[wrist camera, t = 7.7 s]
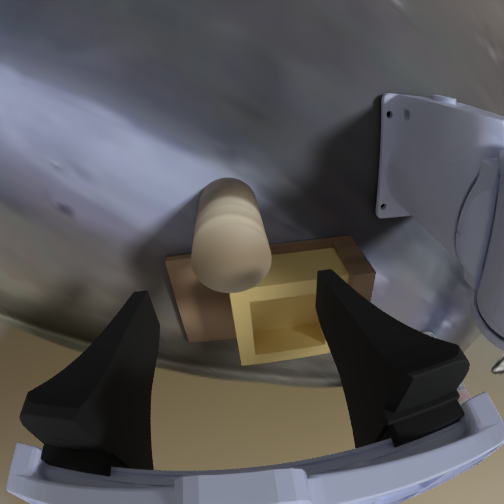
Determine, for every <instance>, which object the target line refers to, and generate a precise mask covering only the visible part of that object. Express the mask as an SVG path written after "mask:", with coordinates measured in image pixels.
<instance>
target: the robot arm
mask: <svg viewBox="0 0 504 504" xmlns="http://www.w3.org/2000/svg"><path fill="white" fill-rule="evenodd" d="M388 111H390V116H389V117H387V112H388ZM382 204H384V206H383V207H382V208H381V205H382ZM375 212H376V215H377V216H378V217H379V218H392V217H403V216H413V217H414V218H415V219H416V220H417V221H418V222H419V223H420V224H421V225H422V226H424V227H425V228H426V229H427V230H428V231H429V232H430V233H431V234H432V235H433V236H434V237H435V238H436V239H437V240H438V241H439V242H440V243H441V244H442V245H443V246H444V247H445V248H446V249H447V250H448V251H449V252H450V253H451V254H452V255H453V256H454V257H455V258H456V259H457V260H458V261H459V262H460V263H461V264H462V265H463V267H464V270H465V275H464V279H465V280H466V281H467V283H468V284H469V285H470V286H471V287H472V288H473V289H474V295H473V299H472V314H473V318H474V320H475V323H476V325H477V327H478V328H479V330H480V331H481V333H482V334H483V335H484V336H485V337H486V338H487V339H488V340H489V341H490V342H491V343H492V344H494V345H495V346H496V347H498V348H500V349H502V350H503V351H504V117H503V116H500V115H497V114H494V113H491V112H488V111H485V110H482V109H479V108H475V107H472V106H468V105H465V104H463V103H459V102H456V99H454V98H450V97H445V96H440V95H433V94H432V98H427V97H419V96H411V95H402V94H391V93H385V94H384V95H383V96H382V99H381V142H380V162H379V177H378V189H377V200H376V210H375ZM315 308H316V312H317V316H318V320H319V323H320V327H321V329H322V332H323V334H324V337H325V339H326V342H327V344H328V347H329V349H330V351H331V354H332V356H333V359H334V361H335V364H336V366H337V369H338V372H339V375H340V378H341V382H342V386H343V390H344V393H345V397H346V402H347V406H348V410H349V415H350V420H351V425H352V429H353V436H354V442H355V448H356V449H352V450H348V451H344V452H340V453H336V454H331V455H327V456H322V457H317V458H312V459H307V460H302V461H296V462H290V463H283V464H277V465H269V466H261V467H252V468H241V469H228V470H208V471H161V470H154V469H153V460H152V449H151V427H150V425H151V424H150V410H151V391H152V383H153V377H154V371H155V366H156V360H157V354H158V348H159V334H160V324H159V321H158V319H157V316H156V313H155V311H154V308H153V305H152V302H151V299H150V297H149V294H148V291H140V292H134V293H133V294H132V296H131V297H130V298H129V299H128V301H127V302H126V303H125V305H124V306H123V307H122V308H121V310H120V311H119V312H118V314H117V315H116V316H115V317H114V319H113V320H112V321H111V323H110V324H109V325H108V326H107V327H106V328H105V330H104V331H103V332H102V333H101V334H100V335H99V337H98V338H97V339H96V340H95V341H94V342H93V343H92V344H91V345H90V346H89V347H88V348H87V349H86V350H85V351H84V352H83V353H82V354H81V355H80V356H79V357H78V358H77V359H76V360H75V361H73V362H72V363H71V364H70V365H68V366H67V367H66V368H65V369H64V370H62V371H61V372H60V373H58V374H57V375H55V376H54V377H53V378H51V379H50V380H48V381H47V382H45V383H43V384H42V385H40V386H38V387H36V388H35V389H33V390H31V391H29V392H28V394H27V396H26V399H25V402H24V405H23V408H22V411H21V414H20V420H21V423H22V424H23V426H24V427H26V429H27V430H29V431H30V432H31V433H32V434H33V435H34V436H35V437H36V438H38V439H39V440H40V441H41V442H42V443H44V446H43V450H42V449H40V448H38V447H35V446H32V445H28V444H24V443H20V442H17V444H16V448H15V452H14V456H13V460H12V464H11V468H10V473H9V477H8V482H7V488H6V490H7V491H8V492H10V493H12V494H13V495H15V496H17V497H19V498H21V499H23V500H25V501H26V502H28V503H30V504H398V503H400V502H403V501H405V500H408V499H410V498H412V497H415V496H417V495H419V494H421V493H423V492H426V491H428V490H430V489H432V488H434V487H436V486H438V485H440V484H442V483H444V482H446V481H448V480H450V479H452V478H454V477H455V476H457V475H459V474H461V473H463V472H464V471H466V470H468V469H470V468H472V467H473V466H475V465H477V464H478V463H480V462H482V461H483V460H484V459H485V458H487V457H488V456H489V455H491V454H492V453H493V452H494V451H495V450H497V449H498V448H499V447H500V446H501V445H503V443H504V423H503V421H502V419H501V417H500V415H499V413H498V411H497V410H496V408H495V406H494V404H493V402H492V401H491V399H490V397H489V395H488V393H487V392H483V393H481V394H479V395H477V396H475V397H473V398H471V399H469V400H467V401H465V402H464V403H463V404H461V405H460V404H459V402H458V400H457V399H459V398H460V395H459V393H458V391H457V388H458V387H459V385H460V384H461V382H462V381H463V379H464V378H465V376H466V374H467V372H468V370H469V365H470V364H469V361H468V360H467V358H466V356H465V355H464V353H463V352H462V350H461V349H460V347H459V346H458V345H456V344H453V343H449V342H446V341H443V340H440V339H437V338H434V337H431V336H429V335H426V334H424V333H422V332H419V331H417V330H415V329H413V328H411V327H409V326H407V325H405V324H403V323H401V322H399V321H398V320H396V319H394V318H393V317H391V316H389V315H388V314H386V313H385V312H383V311H382V310H380V309H379V308H377V307H376V306H375V305H373V304H372V303H371V302H369V301H368V300H367V299H365V298H364V297H363V296H362V295H360V294H359V293H358V292H357V291H356V290H354V289H353V288H352V287H351V286H350V285H349V284H348V283H346V282H345V281H344V280H343V279H342V278H341V277H340V276H339V275H337V274H336V273H335V272H334V271H333V270H332V269H327V270H320V271H317V287H316V303H315Z"/></svg>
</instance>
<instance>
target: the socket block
mask: <svg viewBox="0 0 504 504" xmlns="http://www.w3.org/2000/svg"><path fill="white" fill-rule="evenodd" d="M271 256H272V261H271V266H270V269H269V271H268V273H267V275H266V276H265V278H264V279H263V280H262V281H261V282H260V283H259V284H257V285H256V286H254V287H252V288H251V289H248V290H246V291H242V292H238V293H230V299H231V306H232V312H233V318H234V324H235V330H236V336H237V342H238V347H239V353H240V359H241V365H242V366H244V365H252V364H260V363H268V362H275V361H282V360H289V359H295V358H302V357H308V356H314V355H319V354H325V353H330V352H331V351H330V349H329V347H328V344H327V342H326V339H325V337H324V334H323V332H322V329H321V327H320V323H319V320H318V316H317V312H316V308H315V303H316V287H317V271H320V270H327V269H332V270H333V271H334V272H335V273H336V274H337V275H339V276H340V277H341V278H342V279H343V280H344V281H345V282H346V283H348V279H349V274H348V272H347V270H346V268H345V267H344V265H343V263H342V262H341V260H340V258H339V256H338V255H337V253H336V251H335V250H334V248H326V249H318V250H310V251H301V252H293V253H285V254H277V255H271Z"/></svg>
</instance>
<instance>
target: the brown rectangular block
mask: <svg viewBox="0 0 504 504" xmlns="http://www.w3.org/2000/svg"><path fill="white" fill-rule="evenodd" d="M269 247H270V250H271V255H277V254H285V253H293V252H301V251H310V250H318V249H326V248H334V250H335V251H336V253H337V255H338V256H339V258H340V260H341V262H342V263H343V265H344V267H345V268H346V270H347V272H348V274H349V279H348V284H349V285H350V286H351V287H352V288H353V289H354V290H356V291H357V292H358V293H359V294H360V295H362V296H363V297H364V298H365V299H367V300H368V301H369V302H370V300H371V295H372V290H373V285H374V280H375V274H376V272H375V270H374V269H373V267H372V266H371V264H370V263H369V261H368V260H367V258H366V257H365V256H364V254H363V253H362V251H361V250H360V248H359V247H358V246H357V244H356V243H355V241H354V240H353V239H352V237H351V236H350V235H347V236H338V237H330V238H321V239H312V240H304V241H295V242H286V243H278V244H269ZM165 263H166V267H167V271H168V274H169V278H170V281H171V285H172V288H173V292H174V295H175V299H176V302H177V305H178V309H179V312H180V315H181V318H182V322H183V325H184V328H185V331H186V334H187V337H188V340H189V343H194V342H205V341H215V340H225V339H234V338H237V336H236V330H235V324H234V318H233V312H232V306H231V299H230V293H223V292H218V291H215V290H212V289H210V288H208V287H207V286H205V285H204V284H202V283H201V282H200V281H199V280H198V279H197V277H196V276H195V274H194V272H193V269H192V266H191V254H185V255H177V256H169V257H166V259H165Z"/></svg>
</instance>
